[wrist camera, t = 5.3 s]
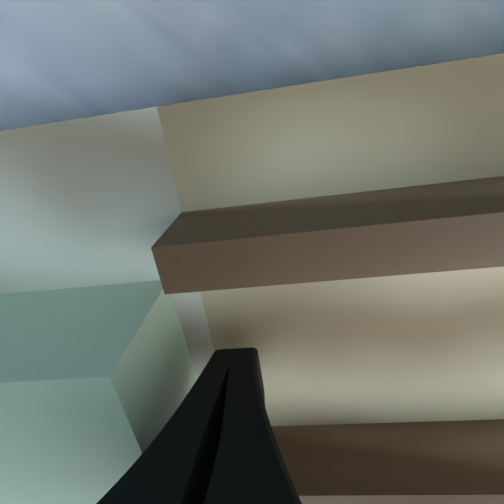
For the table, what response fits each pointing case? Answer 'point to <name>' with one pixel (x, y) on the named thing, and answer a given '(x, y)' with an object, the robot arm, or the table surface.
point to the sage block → (85, 387)
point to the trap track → (305, 259)
